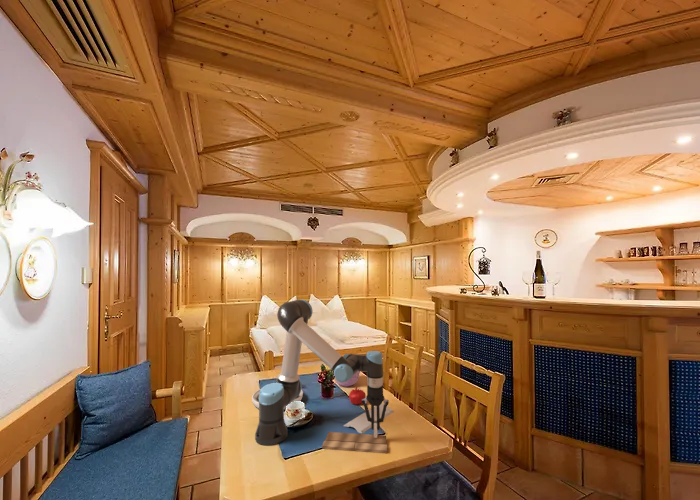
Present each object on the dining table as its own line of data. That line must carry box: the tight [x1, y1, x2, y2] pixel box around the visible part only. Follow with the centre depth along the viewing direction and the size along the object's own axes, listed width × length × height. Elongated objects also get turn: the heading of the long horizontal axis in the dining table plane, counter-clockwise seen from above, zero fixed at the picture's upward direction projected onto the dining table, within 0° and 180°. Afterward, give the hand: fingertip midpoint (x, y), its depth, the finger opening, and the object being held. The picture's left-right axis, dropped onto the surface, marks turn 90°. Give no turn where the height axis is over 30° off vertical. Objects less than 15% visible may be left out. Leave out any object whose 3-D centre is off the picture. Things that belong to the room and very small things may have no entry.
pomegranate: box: [348, 386, 367, 405], centre depth 189 cm, size 10×10×9 cm
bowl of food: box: [334, 371, 361, 388], centre depth 217 cm, size 20×20×12 cm
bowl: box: [251, 387, 304, 411], centre depth 191 cm, size 30×30×8 cm
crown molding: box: [342, 402, 394, 434], centre depth 169 cm, size 29×12×4 cm, turn 141°
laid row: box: [321, 439, 388, 454], centre depth 142 cm, size 29×5×1 cm, turn 82°
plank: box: [325, 431, 387, 445], centre depth 148 cm, size 28×6×1 cm, turn 82°
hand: (375, 436), depth 148 cm, fingers closed
